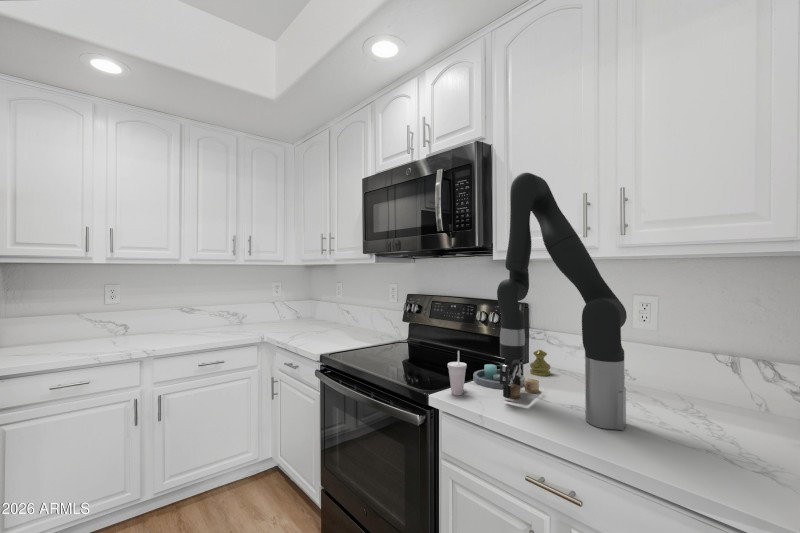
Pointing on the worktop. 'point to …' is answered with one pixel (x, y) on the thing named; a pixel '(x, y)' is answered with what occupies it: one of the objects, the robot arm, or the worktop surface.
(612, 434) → the worktop surface
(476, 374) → the ring tray
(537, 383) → the oak bead
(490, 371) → the teal bead
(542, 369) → the olive chess piece
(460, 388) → the smoothie
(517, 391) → the walnut bead
